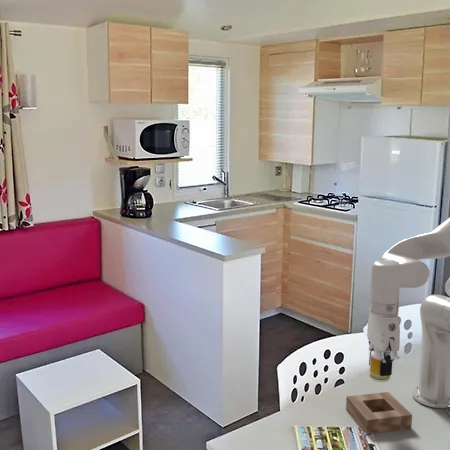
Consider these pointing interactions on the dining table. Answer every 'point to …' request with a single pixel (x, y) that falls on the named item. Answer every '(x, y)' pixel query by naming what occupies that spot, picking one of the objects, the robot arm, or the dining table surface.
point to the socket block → (378, 412)
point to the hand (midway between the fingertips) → (380, 369)
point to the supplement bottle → (377, 365)
